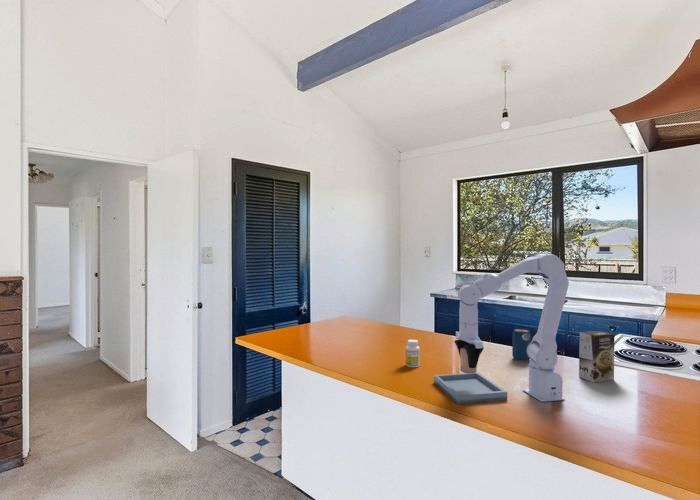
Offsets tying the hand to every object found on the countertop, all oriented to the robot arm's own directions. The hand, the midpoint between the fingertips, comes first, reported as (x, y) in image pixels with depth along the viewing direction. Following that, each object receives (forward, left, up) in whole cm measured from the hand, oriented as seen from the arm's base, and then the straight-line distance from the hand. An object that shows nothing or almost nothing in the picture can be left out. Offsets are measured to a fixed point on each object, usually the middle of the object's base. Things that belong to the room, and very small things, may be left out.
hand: (468, 364), depth 124 cm
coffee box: (+2, -49, -9) cm, 50 cm away
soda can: (+27, -37, -9) cm, 47 cm away
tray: (0, 0, -8) cm, 8 cm away
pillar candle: (0, 0, -2) cm, 2 cm away
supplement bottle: (+28, +9, -9) cm, 31 cm away
